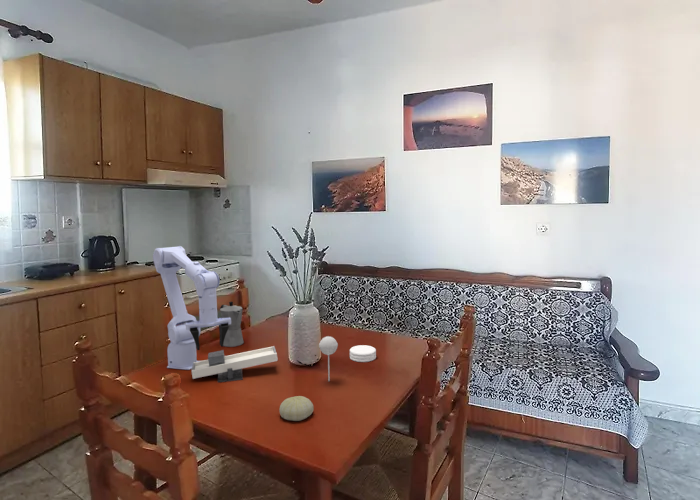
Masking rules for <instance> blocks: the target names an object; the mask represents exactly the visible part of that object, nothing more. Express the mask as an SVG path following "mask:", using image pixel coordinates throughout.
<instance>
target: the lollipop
mask: <svg viewBox="0 0 700 500" xmlns="http://www.w3.org/2000/svg"><path fill="white" fill-rule="evenodd" d="M338 346H339V344H338V342H337V340H336V339H335V338H334V337H333V336H329V335H327V336H324V337H322V339H321V340H320V342H319V344H318V348H319V350H320V352H321V353H322V354H324V355H326V356H327V375H328V378H327V380H328V381H327V382H330V381H331V380H330V379H331V377H330V372H331V371H330V368H331V367H330V355H333V354H335V352H336V351H337V349H338Z"/></svg>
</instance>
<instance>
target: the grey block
mask: <svg viewBox="0 0 700 500" xmlns="http://www.w3.org/2000/svg"><path fill="white" fill-rule="evenodd" d="M224 356H225V352H224V349H221V350H217V351H212V352H208V354H207V360H208V361H209V367H210V366H215V365H220V364H225V357H224Z"/></svg>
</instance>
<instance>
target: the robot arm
mask: <svg viewBox="0 0 700 500" xmlns="http://www.w3.org/2000/svg"><path fill="white" fill-rule="evenodd" d="M152 261H153V264H154V267H155V269H156V273H158V274H160V277H161V280H162V283H163V287H164V291H165V294H166V297H167V301H168V303H169V307H170V311H171V314H172V318H171V320H169V322H168V324H167V332H168V333H167V335H168V339H169V341H170V343H168V346H167V348H166V349H167V366H166V368H167V369H175V370H185V371H190V370H192V366H193V363H194V362H199V361H200V360H197V358H198V357H197V351H200V350H201V349H200V347H201V346H200V340H199V339H200V335H201V329H202V328H203V329H204V328H207V327H217V326H218V333H219V346H220V347H224V346H223V343H224V338H225V335H226V333H227V331H228V329H229V326H228V324H231V318H230V317H229V318H222V317H219V318H218V300H217V299H218V298H217V288H219V286H220V276H219V274H218V273H217V272H216V271H215V270H212V271H210V270H208V269H207V268H205V267H204V266H203V265H202V264H201V263H200V262H199V261H192V260H191V259H190V258H189V257H188V256H187V253H186V249H185V248H184V247H183V246H181V245H178V246H168V247H167V246H166V247H155V249H154V250H153V255H152ZM181 269H184V274H185V275H186V276H187V277H188V278H189V279H190V280H192V281H193V284H194V287H195V291H196V296H198V309H199V310H198V311H199V314H198V315H199V320H197V318H196V316H194V315H192V314H190V313H188V310H187V307H186V306H187V305H186V304H185V299H184V297H183V293H182V290H181V287H180V283H179V279H178V276H177V272H178V271H180V270H181Z"/></svg>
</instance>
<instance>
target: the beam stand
mask: <svg viewBox="0 0 700 500" xmlns="http://www.w3.org/2000/svg"><path fill="white" fill-rule="evenodd" d="M243 377H244V376H243V368H242V369H237V370H232V368H229V369H227V372H223V373H218V374H217V383H224V382H225V383H228V382H234V381H242V380H243V381H244V379H243Z"/></svg>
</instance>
